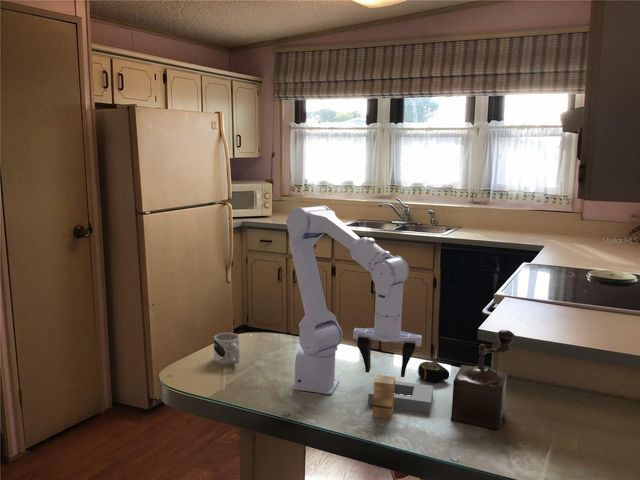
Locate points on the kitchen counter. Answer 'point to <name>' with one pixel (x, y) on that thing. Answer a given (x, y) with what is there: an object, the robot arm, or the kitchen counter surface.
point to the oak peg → (383, 396)
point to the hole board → (416, 401)
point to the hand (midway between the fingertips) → (385, 373)
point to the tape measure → (432, 372)
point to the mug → (226, 348)
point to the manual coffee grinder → (481, 390)
